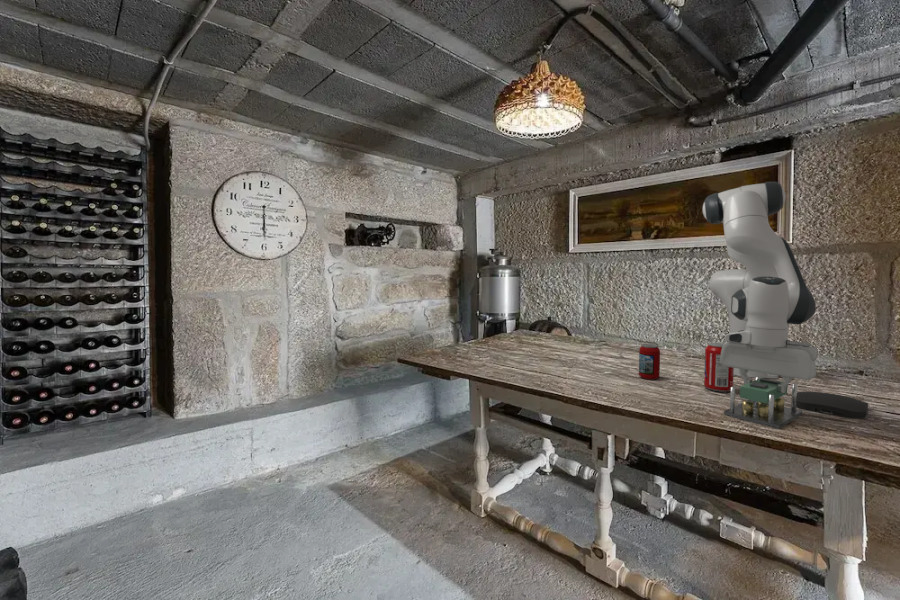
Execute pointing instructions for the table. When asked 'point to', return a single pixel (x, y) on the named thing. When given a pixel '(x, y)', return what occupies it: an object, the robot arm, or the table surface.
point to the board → (761, 390)
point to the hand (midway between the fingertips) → (763, 388)
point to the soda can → (717, 370)
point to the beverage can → (649, 361)
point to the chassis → (765, 410)
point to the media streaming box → (832, 404)
